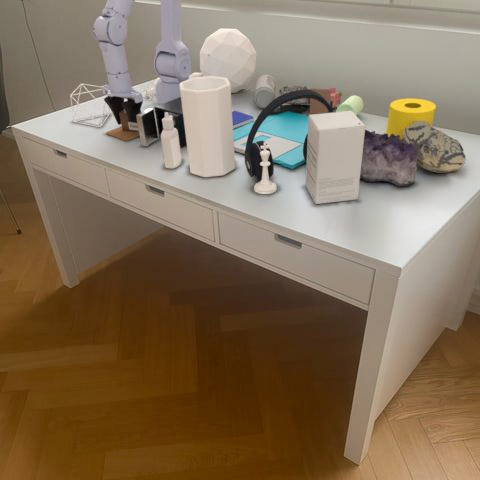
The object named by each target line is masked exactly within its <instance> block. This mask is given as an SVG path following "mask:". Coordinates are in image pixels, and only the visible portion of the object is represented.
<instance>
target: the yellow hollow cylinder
mask: <svg viewBox="0 0 480 480" xmlns="http://www.w3.org/2000/svg"><path fill="white" fill-rule="evenodd" d="M436 108H437V105H436V104H435V103H434V102H432V101H430V100H426V99H422V98H401V99H395V100H393V101H391V103H390V104H389V111H388V117H387V124H386V130H385V134H386V133H387V134H388V137H389V136H390V135H391V134H394V135H395V136H397V135H400V139H401V140H402V139H403V130H404V128H405V127H410V126H411V124H412V123H413V122H414V121H426V122H428V123H429V124H430V126H431V127H433V123H434V117H435V112H436Z"/></svg>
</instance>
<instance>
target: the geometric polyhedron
mask: <svg viewBox="0 0 480 480" xmlns="http://www.w3.org/2000/svg"><path fill="white" fill-rule="evenodd" d="M86 86H91V87H96V88H98V89H93V90H89V89H87V87H86ZM82 87H83V89H85V90H86V91H82ZM78 89H79V92H78V93H75V92H76V91H77V90H78ZM81 91H82V92H81ZM99 91H102V85H101V86H100V85H94V84H89V83H88V84H87V83H80V84H79V85H78V86H77V87H76V88H75V89H74V91H72V93H71V94H70V95H69V98H70V106H71V112H72V121H73V122H74V123H77V124H82V125H87V126H92V127H97V128H101V127H102V126H103V125H104V123H105V122H106V120H107V119H108V117H109V116H110V113H111V109H110V107H108V110H107V109H106V105H107V103H106V102H105V101H104V105H102V104H101V103H100V102H99V100H98V99H97V98H96V97H95V96H94V95H93V93H92V92H99ZM87 93H88V94H89V95H90V96H91V97H92V98H94V100H95V101H96V102H97V103H98V104H99V105H100V106H101V108H103V110H102V114H101V115H97V116H96V115H95V116H92V115H90V114H89V112H88V111H87V110H85V108H83V106H82V105H81V104H80V103H79V101H80V96H81V95H82V94H87ZM77 95H78V97H77V100H76V98H75V97H73V96H77ZM105 95H106V96H105V98H106V97H108V95H107V94H105ZM73 100H74V101H75V103H76V106H75V112H74V108H73ZM78 106H79V107H80V108H81V109H82V110H83V111H84V112H85V113H86V115H88V117H86V118H82V119H77V120H76V115H77V111H78ZM105 112H106V114H105ZM104 116H106V117H105V118H104ZM100 117H101V120H100V124H99V123H98V122H97V121H96V120H95V118H100ZM90 119H92V120H93V122H94V123H95V124H96V125H95V124H89V123H85V122H81V121H85V120H90ZM103 119H104V120H103Z"/></svg>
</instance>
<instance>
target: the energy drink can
mask: <svg viewBox="0 0 480 480" xmlns="http://www.w3.org/2000/svg"><path fill="white" fill-rule="evenodd" d="M276 84H277V82H276V80H275V78H274V77H273V76H271V74H263V75H262V74H261V76H259V77H258V78H257V81H256V84H255V88H254V94H253V102H254V104H255V105H256V106H257V107H259V108H260V109H264V108H265V107H266V106H267V105H268V104H270V103H271V102H272V101H273V100H274V99H275V95H276V87H277V85H276Z"/></svg>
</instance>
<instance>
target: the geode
mask: <svg viewBox="0 0 480 480" xmlns="http://www.w3.org/2000/svg"><path fill="white" fill-rule="evenodd" d="M417 158H418V147H413V145H412V144H411V143H410V144H409V143H408V142H407V141H406V140H405V139H404V138H403V139H402V140H401V139H400V135H397V136H395V135H394V134H391V135H390V136H389V137H388V134H387V133H386V132H385V133H381V134H380V133H376V131H375V130H372V131H370V130H367V129H366V128H365V135H364V144H363V153H362V162H361V172H360V179H362V180H363V181H365V182H369V183H374V182H375V183H376V182H388V183H389V182H390V183H391V184H393V185H395V186H397V188H404V187H409V186H412V185H414V184H415V182H416V181H415V179H416V173H417V170H418V167H417V166H418V165H417Z"/></svg>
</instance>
